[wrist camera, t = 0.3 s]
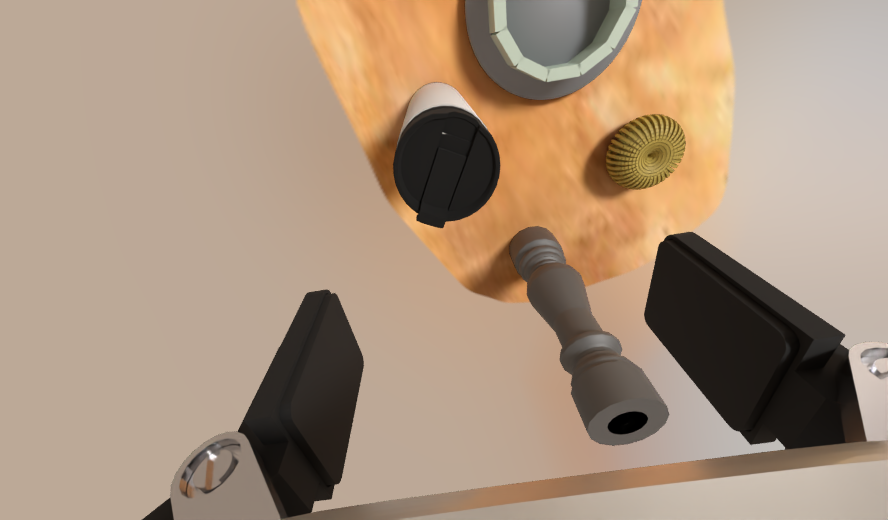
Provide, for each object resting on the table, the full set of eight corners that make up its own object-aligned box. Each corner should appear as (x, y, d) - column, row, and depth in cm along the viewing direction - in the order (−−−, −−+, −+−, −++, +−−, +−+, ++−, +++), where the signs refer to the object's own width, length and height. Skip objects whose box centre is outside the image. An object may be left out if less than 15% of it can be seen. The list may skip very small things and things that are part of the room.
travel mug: (400, 137, 37) (378, 212, 20) (417, 72, 33) (409, 94, 16) (453, 156, 38) (476, 241, 21) (475, 94, 35) (523, 137, 18)
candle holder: (524, 274, 47) (605, 456, 26) (500, 245, 44) (568, 422, 23) (563, 249, 45) (685, 424, 24) (540, 217, 42) (654, 382, 21)
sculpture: (678, 99, 32) (705, 161, 36) (654, 94, 36) (680, 151, 39) (603, 155, 35) (635, 208, 38) (587, 146, 38) (617, 195, 42)
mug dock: (453, -103, 27) (458, -124, 24) (654, -142, 26) (688, -170, 23) (474, 110, 35) (479, 116, 32) (626, 84, 35) (648, 88, 31)
